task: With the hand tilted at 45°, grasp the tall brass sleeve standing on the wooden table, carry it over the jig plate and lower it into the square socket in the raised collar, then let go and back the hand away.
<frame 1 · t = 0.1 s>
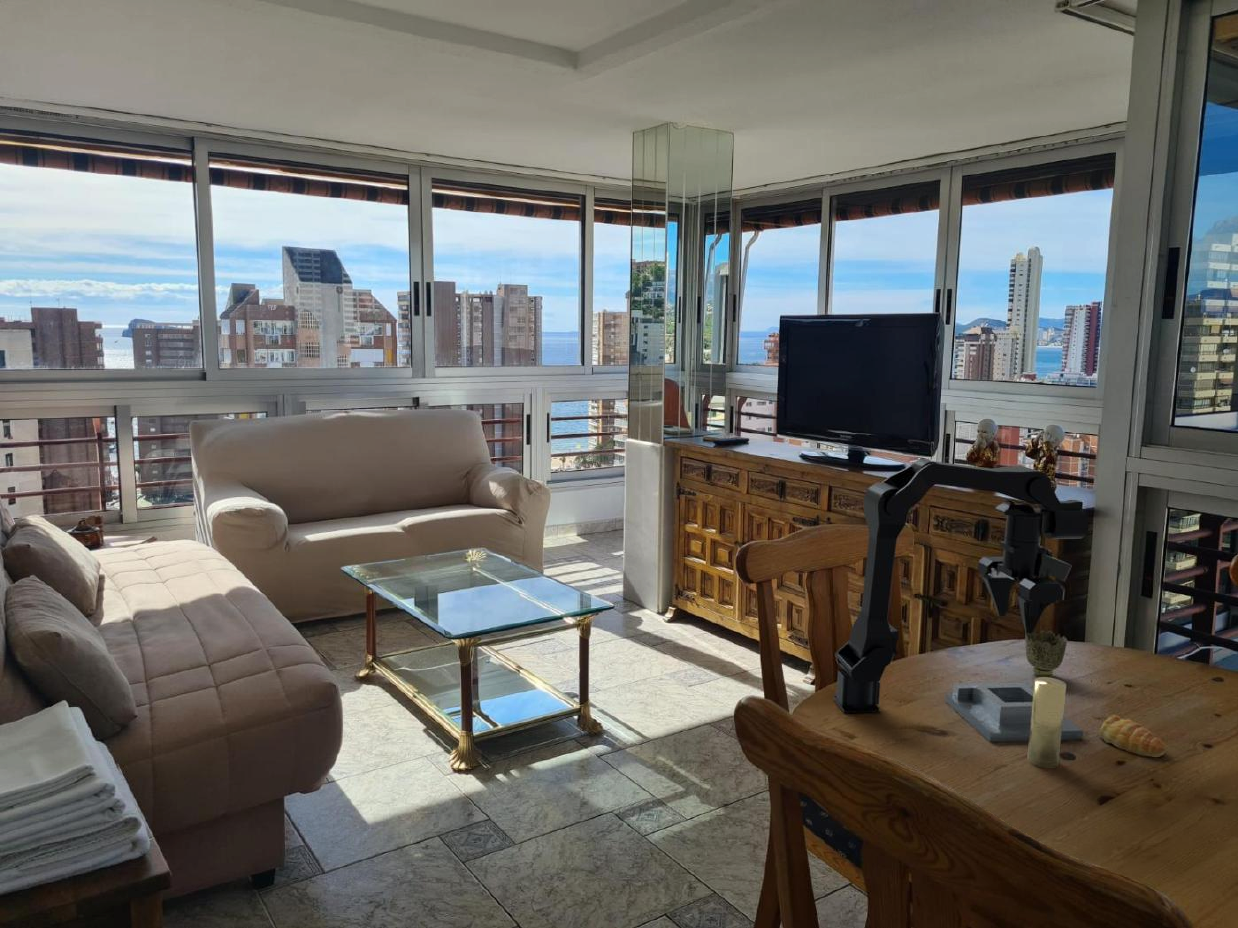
hand: (1015, 624, 161), 15 cm above the table, tool pointing down, fingers open, 9 cm apart
sleeve: (1042, 761, 141), on the table
cup: (1042, 675, 177), on the table
pastry: (1129, 746, 148), on the table
jig: (1010, 719, 156), on the table
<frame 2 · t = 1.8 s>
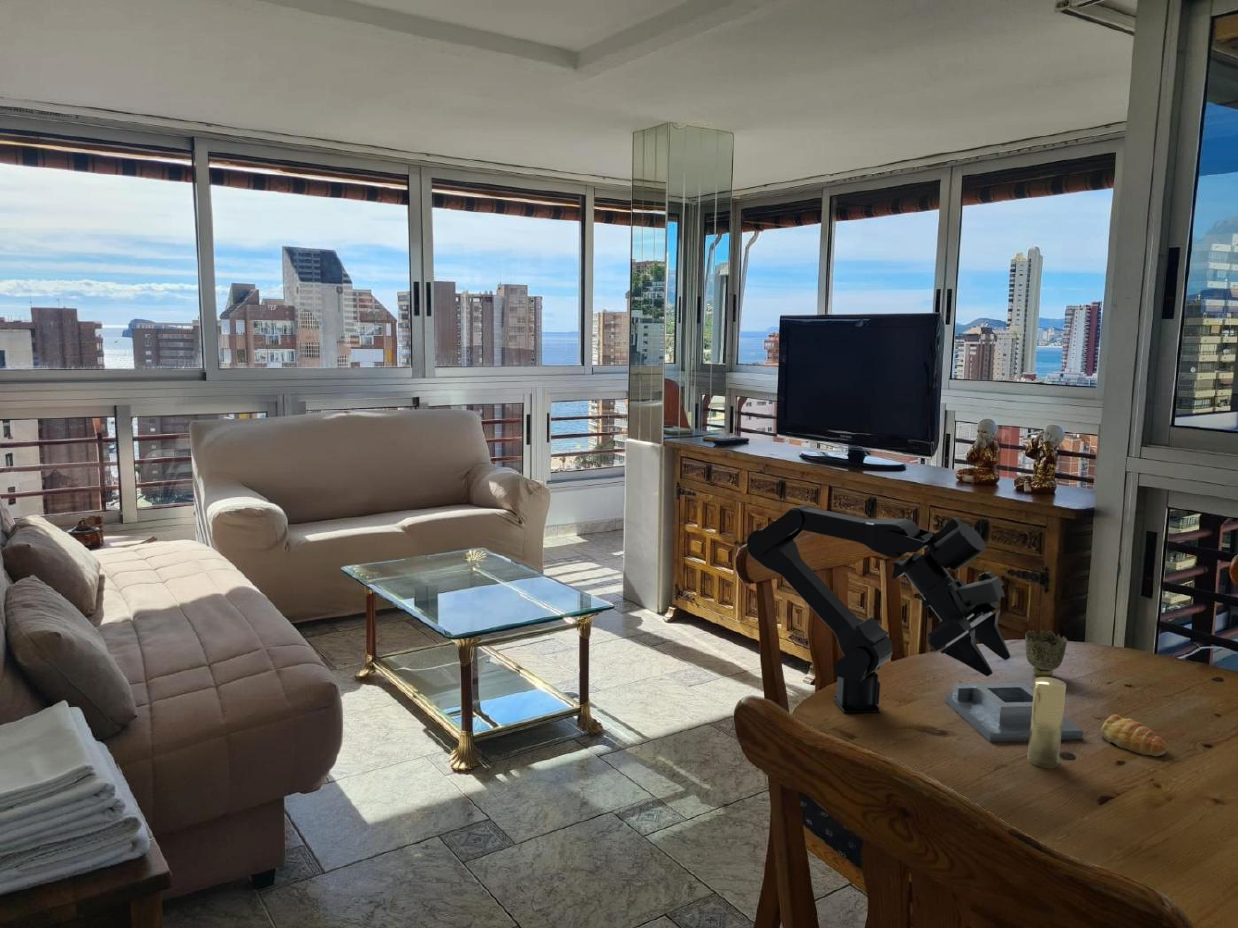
hand: (999, 666, 144), 13 cm above the table, tool tilted 45°, fingers open, 9 cm apart
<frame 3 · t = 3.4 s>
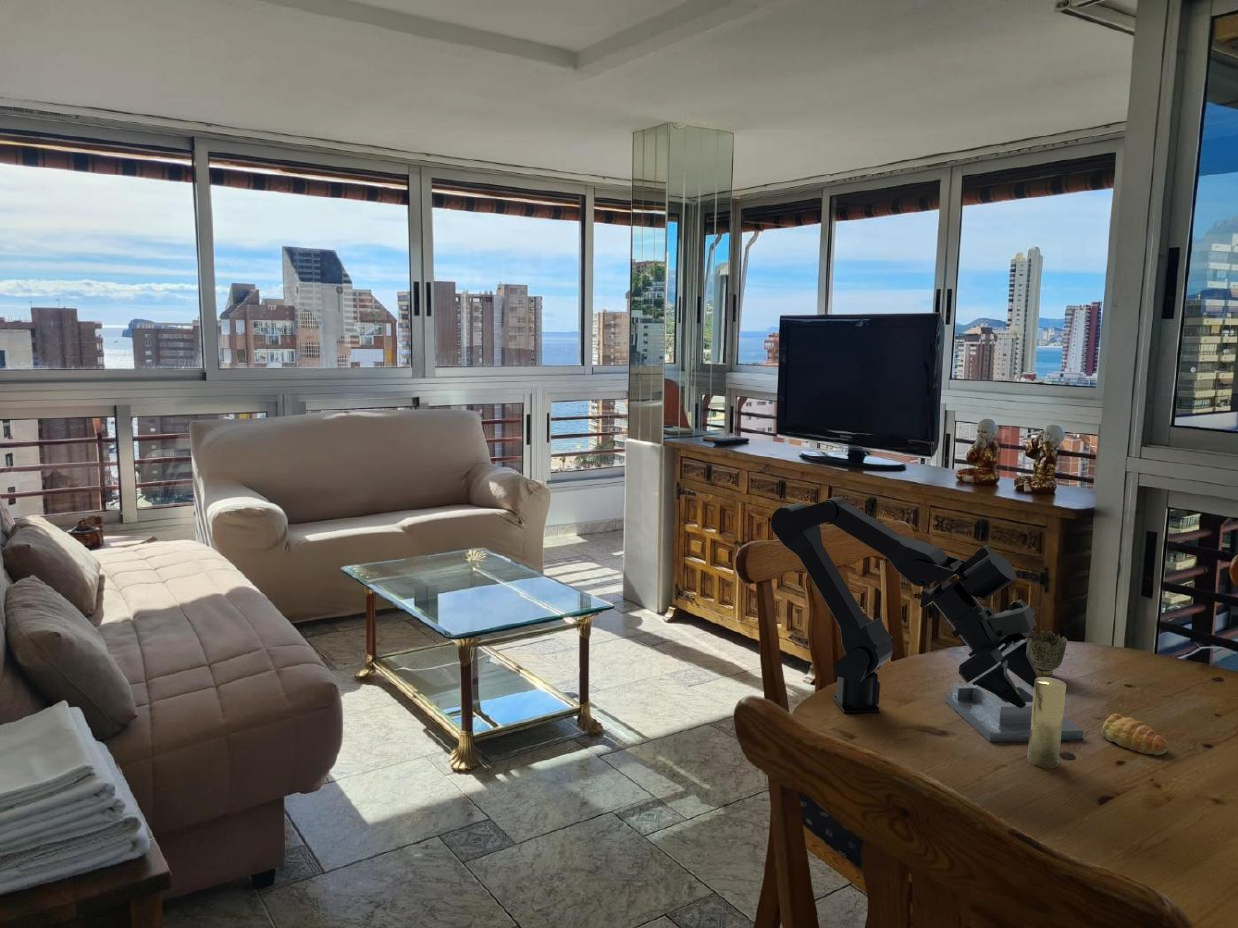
hand: (1032, 697, 141), 10 cm above the table, tool tilted 45°, fingers open, 9 cm apart
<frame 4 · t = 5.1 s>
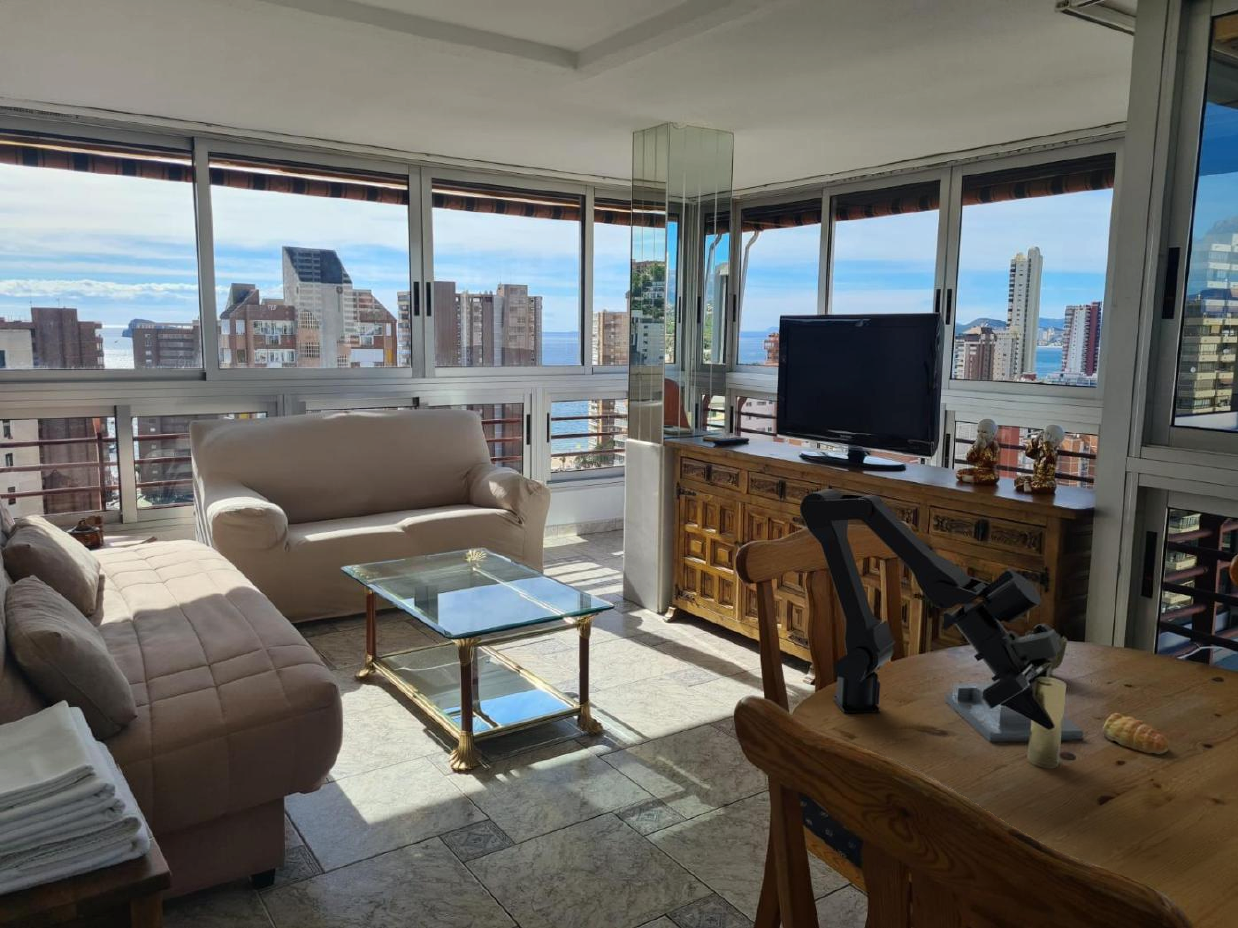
hand: (1056, 723, 139), 7 cm above the table, tool tilted 45°, fingers closed on sleeve, 4 cm apart
sleeve: (1042, 761, 141), on the table, touching gripper
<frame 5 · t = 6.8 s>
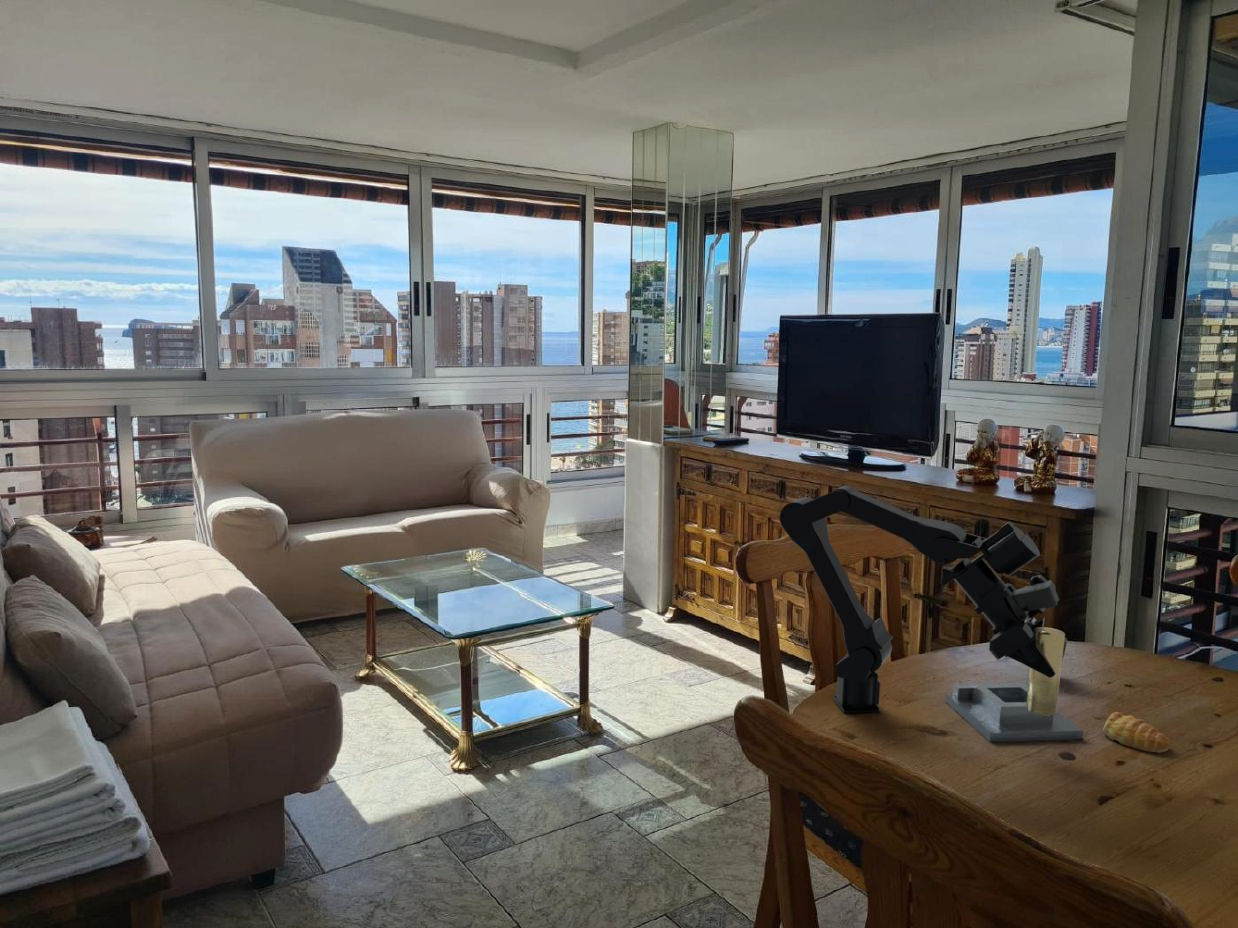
hand: (1054, 671, 143), 13 cm above the table, tool tilted 45°, fingers closed on sleeve, 4 cm apart
sleeve: (1041, 709, 144), point 7 cm above the table, touching gripper
when the fingers open (10 cm above the table, at t = 9.0 s): sleeve drops 1 cm, resting on jig.
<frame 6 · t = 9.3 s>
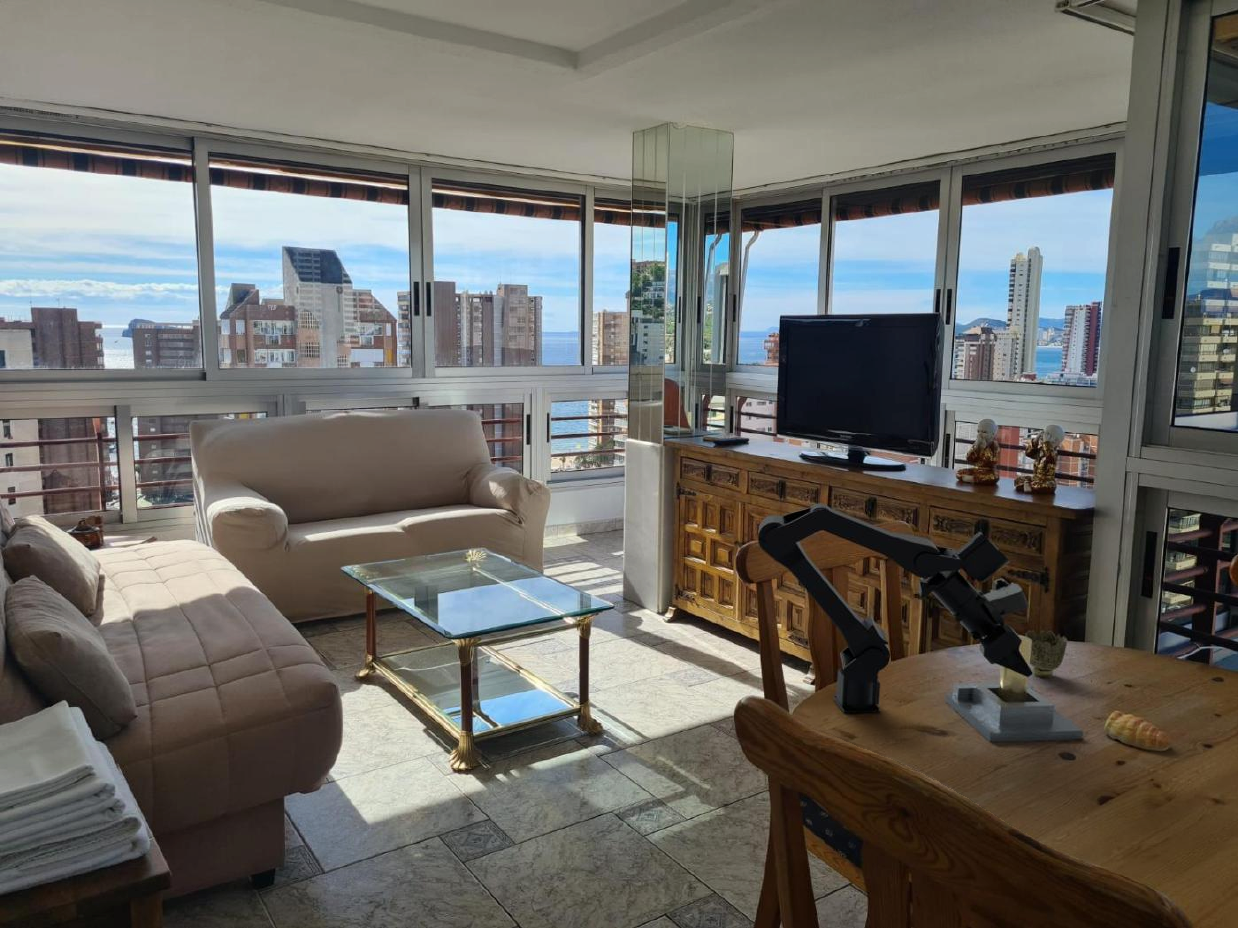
hand: (1024, 666, 155), 10 cm above the table, tool tilted 45°, fingers open, 8 cm apart
sleeve: (1011, 710, 156), point 2 cm above the table, touching jig
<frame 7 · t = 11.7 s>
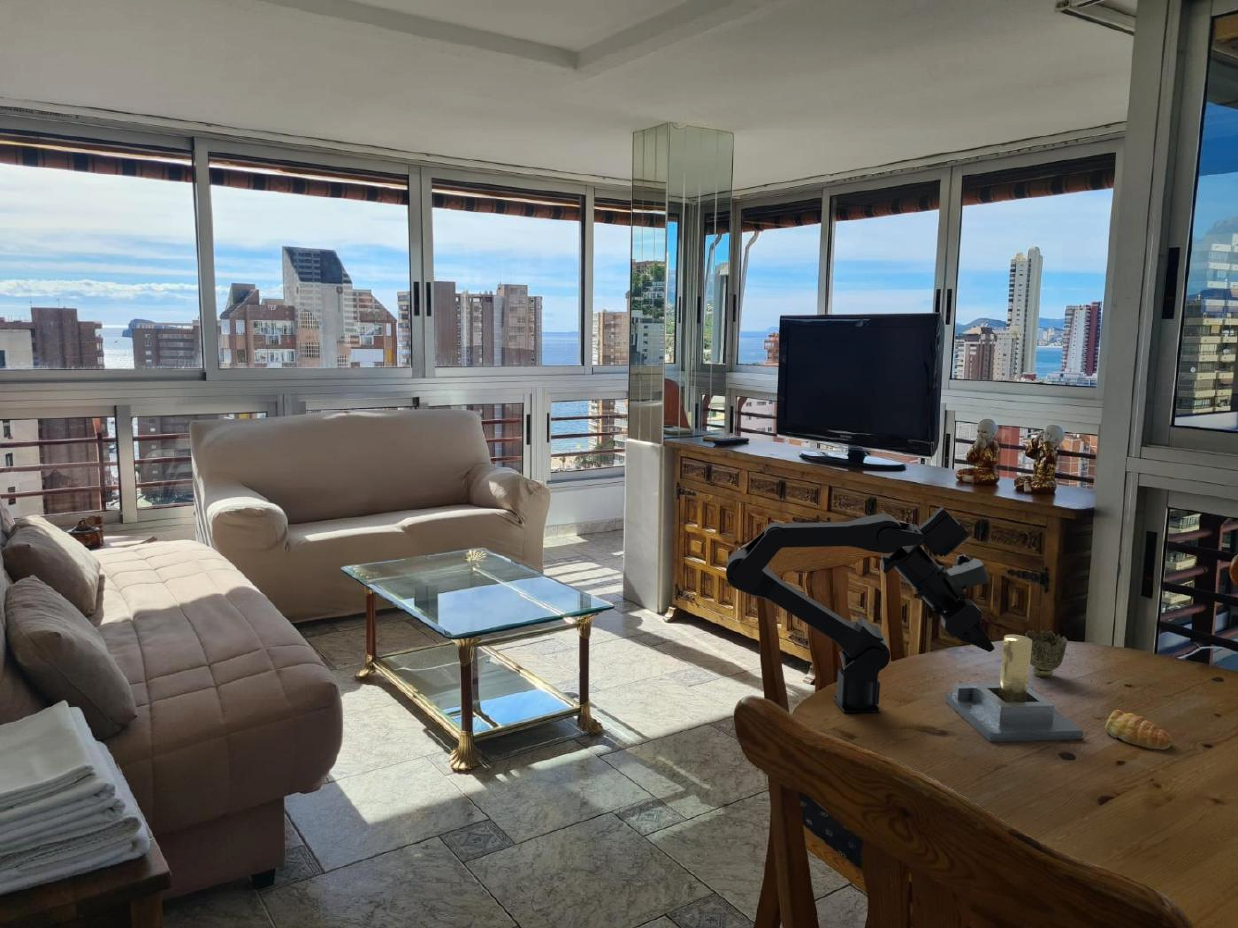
hand: (985, 641, 155), 14 cm above the table, tool tilted 45°, fingers open, 9 cm apart
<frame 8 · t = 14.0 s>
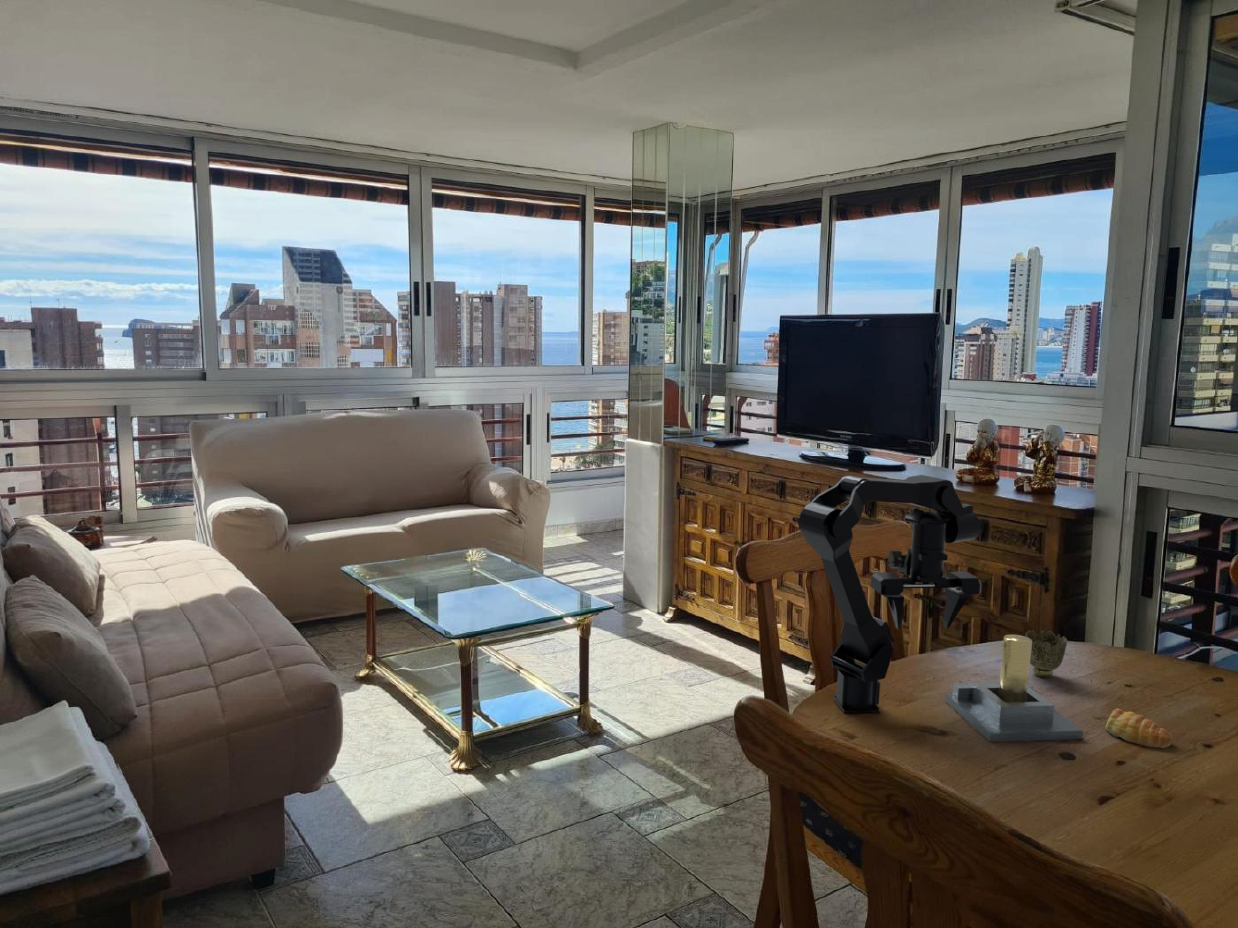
hand: (922, 628, 166), 12 cm above the table, tool pointing down, fingers open, 9 cm apart
at the end: sleeve 0.0 cm off-centre on the jig, point 1.5 cm above the jig's base; sleeve tilted 0°; the gripper is holding nothing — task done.
